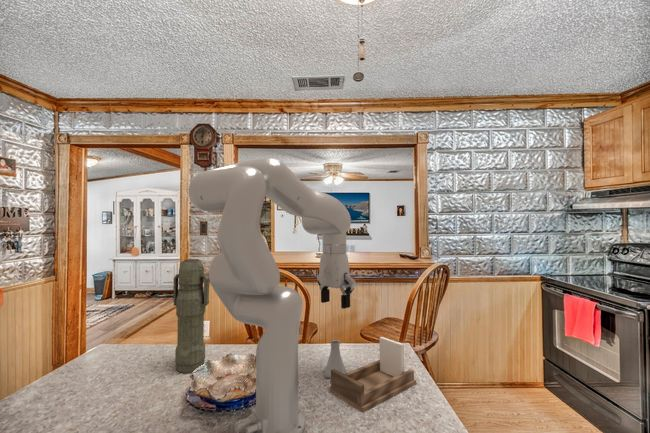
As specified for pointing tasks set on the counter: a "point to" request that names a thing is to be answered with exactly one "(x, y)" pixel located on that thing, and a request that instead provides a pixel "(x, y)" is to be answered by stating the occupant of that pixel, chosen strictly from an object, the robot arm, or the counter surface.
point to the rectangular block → (391, 357)
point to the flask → (334, 360)
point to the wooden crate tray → (369, 385)
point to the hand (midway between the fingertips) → (335, 304)
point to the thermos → (190, 315)
